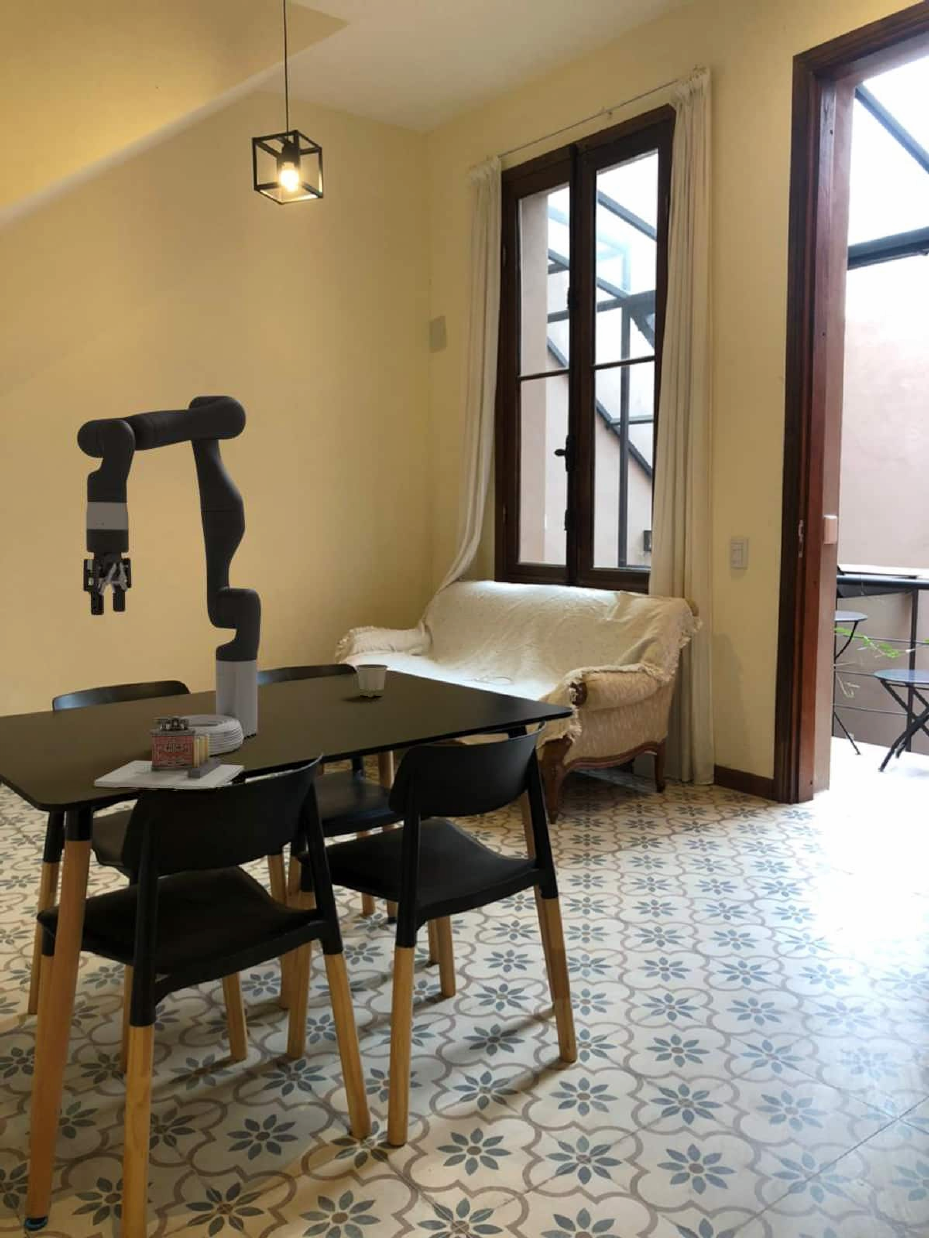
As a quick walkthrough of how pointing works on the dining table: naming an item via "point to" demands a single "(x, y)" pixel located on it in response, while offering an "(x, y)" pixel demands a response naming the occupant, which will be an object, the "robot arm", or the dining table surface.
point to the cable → (216, 731)
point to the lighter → (172, 745)
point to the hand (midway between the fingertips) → (108, 613)
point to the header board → (174, 773)
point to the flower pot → (371, 676)
